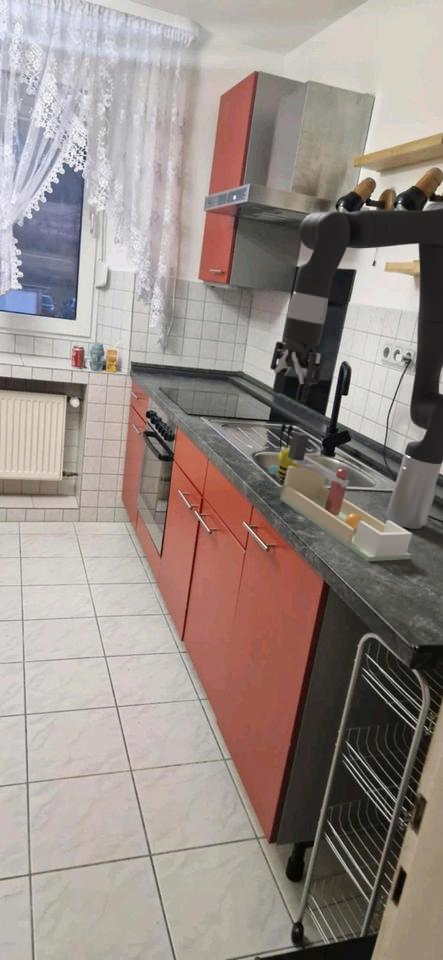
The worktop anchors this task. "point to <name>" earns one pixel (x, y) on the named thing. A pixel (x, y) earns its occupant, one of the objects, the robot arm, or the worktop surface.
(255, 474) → the worktop surface
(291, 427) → the toy
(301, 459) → the grey red jointed piece
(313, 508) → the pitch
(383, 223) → the robot arm
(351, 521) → the ball
